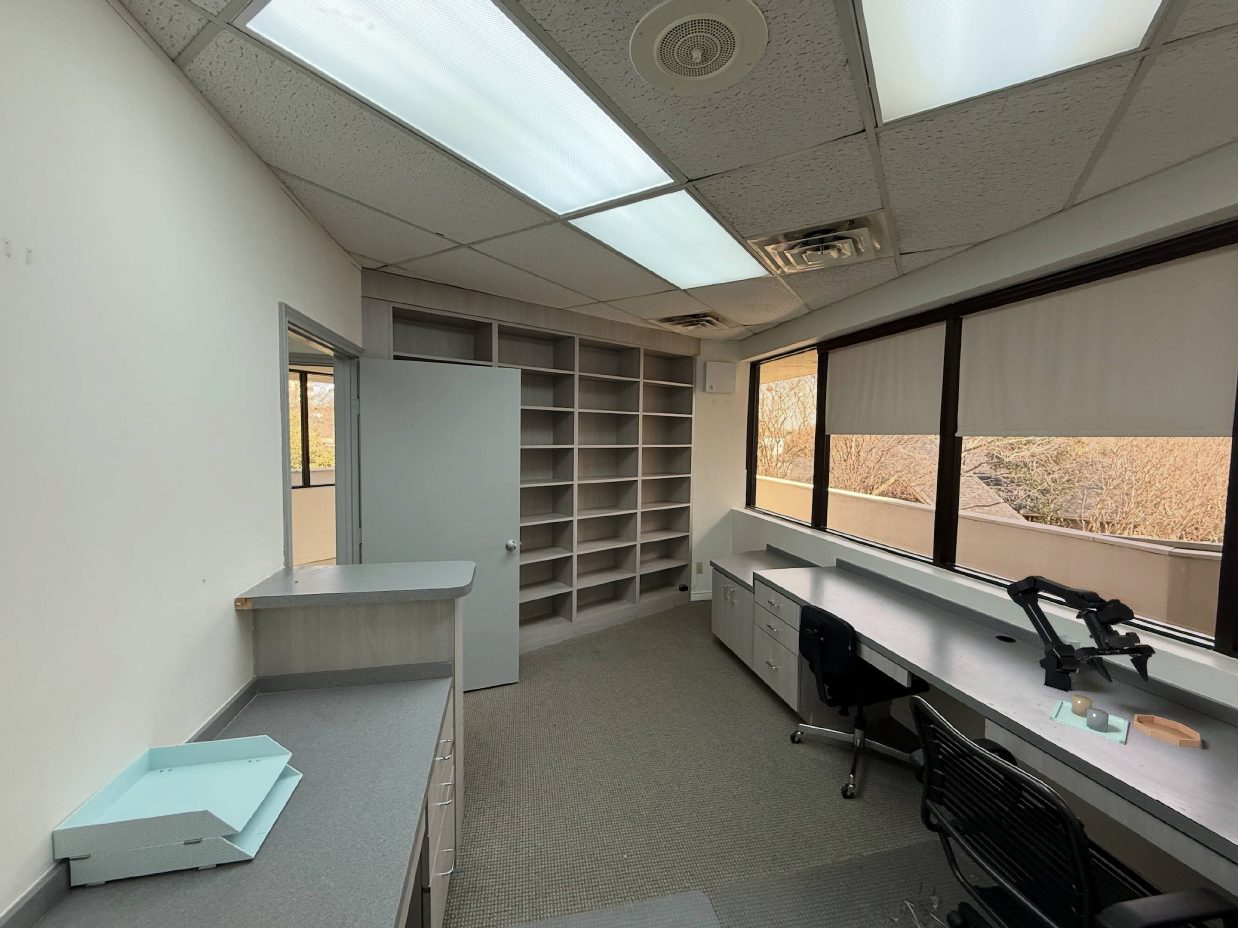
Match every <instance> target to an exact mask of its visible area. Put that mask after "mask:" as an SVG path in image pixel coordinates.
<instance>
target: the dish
mask: <svg viewBox="0 0 1238 928" xmlns="http://www.w3.org/2000/svg"><path fill="white" fill-rule="evenodd" d="M1132 727H1133V728H1135V729H1136V730H1138V731H1139V732H1141V733H1143V734H1145V735H1147V736H1149V737H1150V738H1152V739H1155V740H1158V741H1162V742H1165V743H1168V744H1171V745H1174V746H1178V747H1185V748H1186V747H1187V748H1201V747H1200V745H1201V734H1200V733H1199V732H1197V731H1196V730H1194V729H1192V728H1190V727H1188V726H1186V725H1184V724H1182V723H1180V722H1177V721H1174V720H1172V719H1171V720H1170V719H1168V718H1163V717H1160V716H1156V715H1155V714H1137V713H1134V718H1133V726H1132Z"/></svg>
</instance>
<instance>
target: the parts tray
mask: <svg viewBox="0 0 1238 928" xmlns="http://www.w3.org/2000/svg"><path fill="white" fill-rule="evenodd" d="M1108 714H1109V713H1108ZM1049 720H1050V721H1052V722H1056V723H1059V724H1061V725H1064V726H1068V727H1071V728H1074V729H1076V730H1079V731H1083V732H1085V733H1089V734H1091V735H1094V736H1098V737H1101V738H1104V739H1107V740H1110V741H1113V742H1116V743H1119V744H1122V745H1125V744H1126V739H1127V735H1128V734H1127V733H1128V728H1129V721H1130V720H1128V719H1125V718H1122V717H1119V716H1116V715H1113V714H1109V720H1108V732H1106V733H1103V732H1098V731H1095V730H1092V729H1090V728H1089V727H1087V726H1086V720H1087V718H1084V717H1080V716H1078V715H1075V714H1074V713H1072V702H1070V701H1066V700H1064V699H1060V698H1058V699H1057V701H1056V703H1055V705H1054V708H1053V710H1052V712H1051V714H1050V716H1049Z"/></svg>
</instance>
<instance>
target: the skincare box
mask: <svg viewBox="0 0 1238 928" xmlns="http://www.w3.org/2000/svg"><path fill="white" fill-rule="evenodd" d="M1057 635H1058V634H1057ZM1058 637H1059V638H1060V640H1061V641H1062V642H1063V643H1065V644H1071V645H1072V646H1073V647H1074V649H1075V650H1077V649H1079V648H1081V641H1079V640H1077V639H1075V638H1073V637H1070V636H1068V635H1058ZM1079 668H1080V667H1079ZM1079 668H1078V669H1077V671H1076V673H1077V674H1078V673H1079V671H1080V670H1079ZM1076 673H1075V674H1076Z"/></svg>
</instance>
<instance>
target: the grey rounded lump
mask: <svg viewBox="0 0 1238 928" xmlns="http://www.w3.org/2000/svg"><path fill="white" fill-rule="evenodd" d="M1108 720H1109V713H1108V712H1107V711H1105V710H1102V709H1099V708H1097V707H1092V708H1087V720H1086V726H1087V727H1089V728H1090V729H1092V730H1095V731H1098V732H1103V733H1106V732H1108Z"/></svg>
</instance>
